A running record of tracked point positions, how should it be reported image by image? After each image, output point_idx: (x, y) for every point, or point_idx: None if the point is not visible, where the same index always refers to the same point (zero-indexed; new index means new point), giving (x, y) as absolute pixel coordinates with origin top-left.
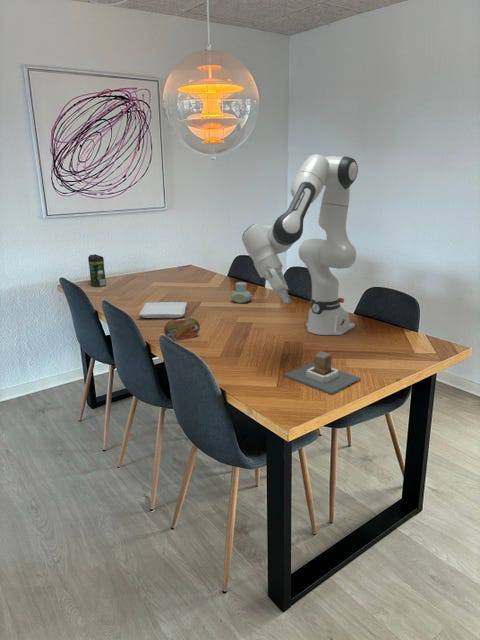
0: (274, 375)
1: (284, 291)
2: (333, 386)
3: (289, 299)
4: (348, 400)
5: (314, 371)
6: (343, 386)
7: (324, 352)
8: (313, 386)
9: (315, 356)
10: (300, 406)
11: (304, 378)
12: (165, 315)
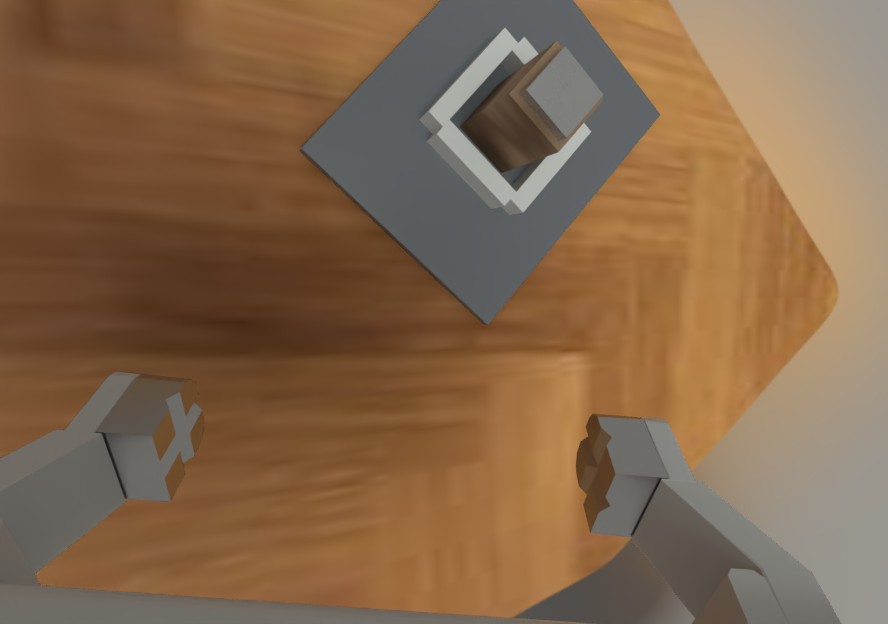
0: (474, 372)
1: (737, 574)
2: (606, 93)
3: (170, 412)
4: (690, 53)
5: (514, 167)
6: (605, 44)
7: (542, 79)
8: (599, 187)
9: (562, 147)
10: (730, 252)
11: (530, 224)
12: None
